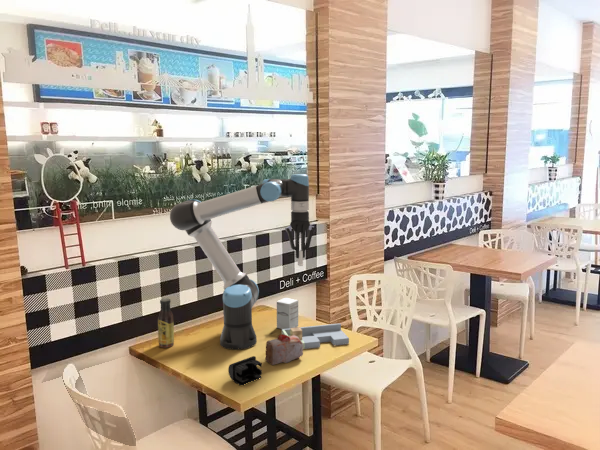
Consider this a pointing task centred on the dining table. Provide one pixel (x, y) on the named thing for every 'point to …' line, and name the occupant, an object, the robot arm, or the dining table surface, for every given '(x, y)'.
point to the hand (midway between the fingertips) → (300, 265)
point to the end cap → (245, 370)
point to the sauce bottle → (165, 325)
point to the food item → (283, 349)
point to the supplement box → (287, 313)
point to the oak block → (296, 332)
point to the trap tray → (321, 335)
